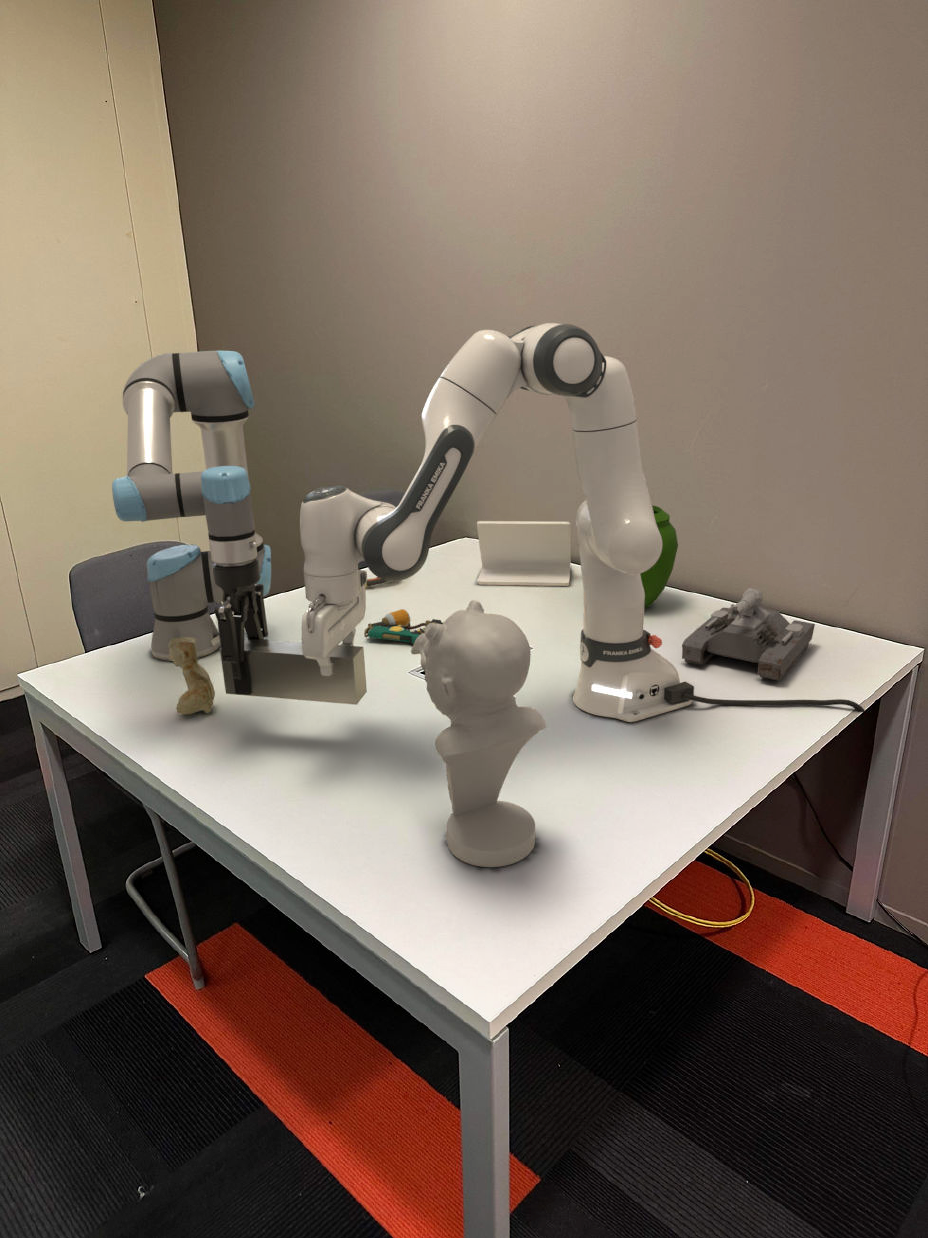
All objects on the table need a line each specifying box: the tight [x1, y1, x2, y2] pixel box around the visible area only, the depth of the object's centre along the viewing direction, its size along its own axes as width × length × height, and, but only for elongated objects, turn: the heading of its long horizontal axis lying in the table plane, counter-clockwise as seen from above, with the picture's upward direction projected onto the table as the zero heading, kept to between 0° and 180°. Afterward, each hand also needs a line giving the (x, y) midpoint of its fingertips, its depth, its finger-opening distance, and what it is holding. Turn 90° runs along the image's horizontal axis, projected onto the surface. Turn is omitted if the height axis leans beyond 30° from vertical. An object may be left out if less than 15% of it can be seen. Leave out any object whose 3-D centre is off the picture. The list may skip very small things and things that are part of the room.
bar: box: [219, 638, 368, 706], centre depth 148 cm, size 24×5×9 cm, turn 77°
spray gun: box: [363, 608, 445, 645], centre depth 198 cm, size 4×17×15 cm
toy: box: [681, 587, 816, 682], centre depth 180 cm, size 25×20×15 cm
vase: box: [640, 504, 679, 609], centre depth 210 cm, size 20×20×24 cm
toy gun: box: [364, 576, 390, 588], centre depth 239 cm, size 3×19×10 cm
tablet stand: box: [476, 520, 572, 587], centre depth 236 cm, size 18×25×17 cm
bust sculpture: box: [410, 599, 547, 868], centre depth 121 cm, size 16×24×35 cm
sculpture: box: [168, 637, 216, 716], centre depth 162 cm, size 6×7×15 cm
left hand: (251, 686), depth 151 cm, fingers closed on bar, 5 cm apart
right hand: (337, 663), depth 145 cm, fingers open, 8 cm apart
